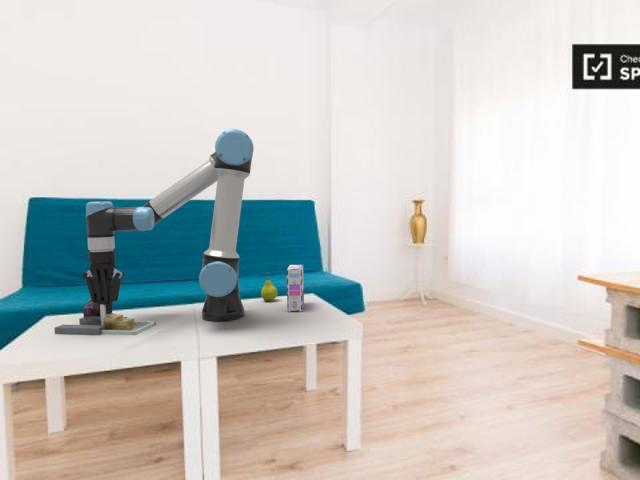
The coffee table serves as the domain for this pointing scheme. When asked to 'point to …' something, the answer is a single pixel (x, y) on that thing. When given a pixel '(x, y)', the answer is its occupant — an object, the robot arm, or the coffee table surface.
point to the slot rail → (83, 327)
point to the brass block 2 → (124, 324)
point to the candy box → (295, 288)
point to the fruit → (268, 291)
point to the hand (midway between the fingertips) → (106, 323)
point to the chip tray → (116, 332)
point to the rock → (91, 309)
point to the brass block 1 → (111, 321)
